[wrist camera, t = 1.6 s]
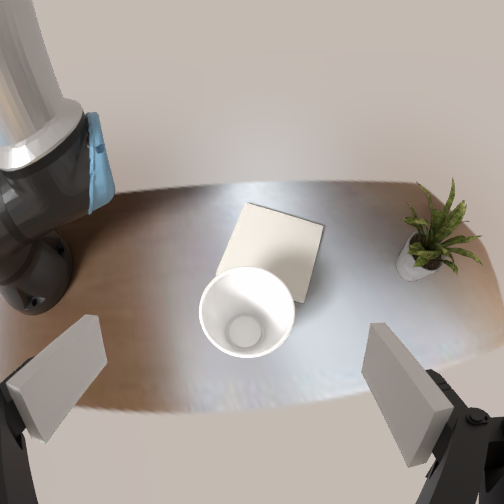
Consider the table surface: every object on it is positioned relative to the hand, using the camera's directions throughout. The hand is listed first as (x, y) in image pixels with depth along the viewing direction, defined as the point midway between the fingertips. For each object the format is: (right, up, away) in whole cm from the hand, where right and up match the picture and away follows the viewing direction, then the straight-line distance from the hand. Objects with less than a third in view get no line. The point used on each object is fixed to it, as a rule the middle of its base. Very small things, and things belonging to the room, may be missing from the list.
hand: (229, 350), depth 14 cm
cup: (0, -6, +27) cm, 28 cm away
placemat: (+4, +5, +33) cm, 34 cm away
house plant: (+27, +3, +34) cm, 43 cm away
